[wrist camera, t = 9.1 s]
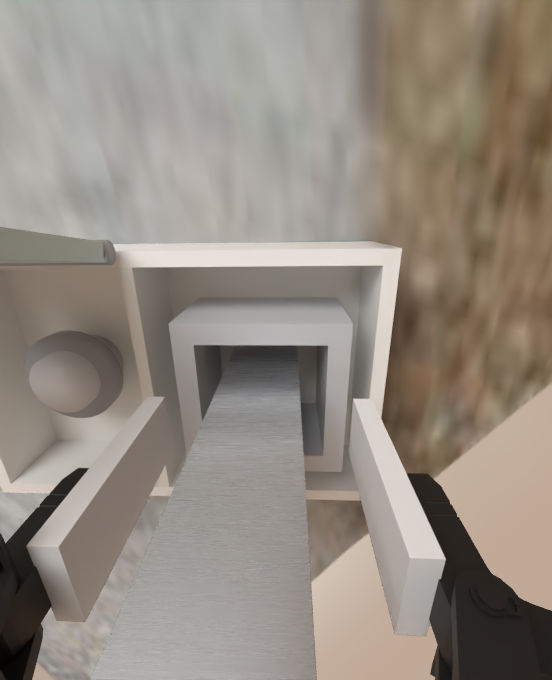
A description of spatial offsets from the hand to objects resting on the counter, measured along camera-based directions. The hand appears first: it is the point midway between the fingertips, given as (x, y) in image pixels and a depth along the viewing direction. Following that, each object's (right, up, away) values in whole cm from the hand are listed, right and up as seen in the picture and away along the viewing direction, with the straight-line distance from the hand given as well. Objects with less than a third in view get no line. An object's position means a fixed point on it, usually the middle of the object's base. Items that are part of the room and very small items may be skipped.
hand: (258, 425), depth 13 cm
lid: (-11, +5, -7) cm, 14 cm away
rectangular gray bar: (0, +2, +6) cm, 7 cm away
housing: (-5, +3, +7) cm, 9 cm away
